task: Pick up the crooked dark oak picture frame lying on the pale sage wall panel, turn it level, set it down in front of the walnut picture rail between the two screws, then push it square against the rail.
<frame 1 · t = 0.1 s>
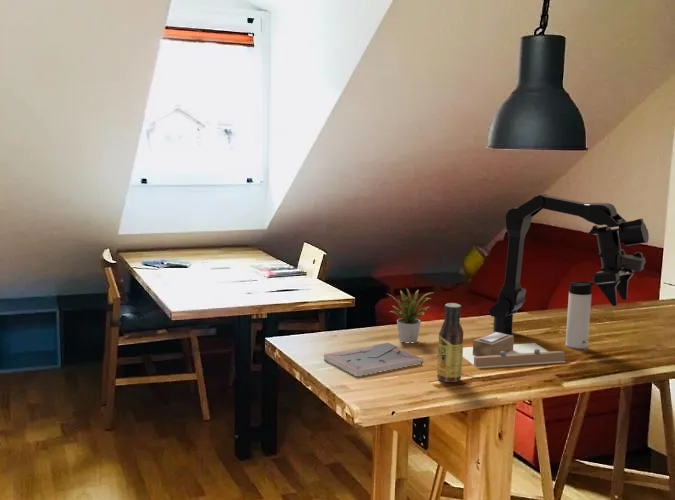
hand: (619, 302, 218), 15 cm above the table, tool pointing down, fingers open, 9 cm apart
travel mug: (576, 349, 228), on the table
house plant: (412, 342, 232), on the table
wall board: (507, 357, 218), on the table
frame: (493, 352, 220), point 1 cm above the table, touching wall board
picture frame: (373, 365, 213), on the table
sauce bottle: (449, 380, 199), on the table
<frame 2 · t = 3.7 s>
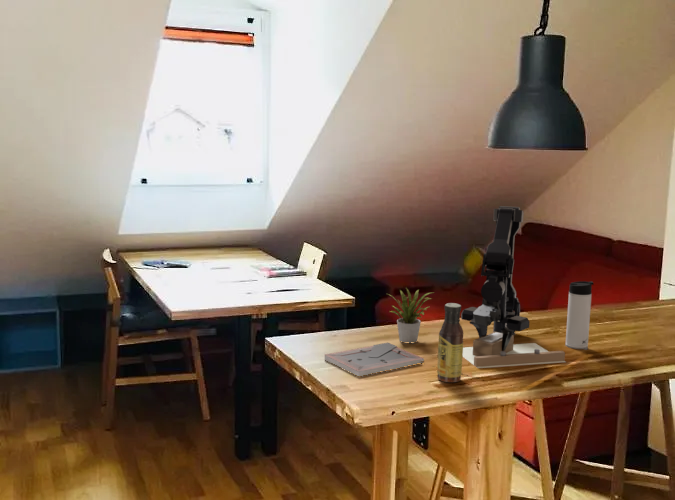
hand: (493, 348, 220), 2 cm above the table, tool pointing down, fingers closed on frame, 6 cm apart
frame: (493, 352, 220), point 1 cm above the table, touching gripper, wall board
everything else where it was.
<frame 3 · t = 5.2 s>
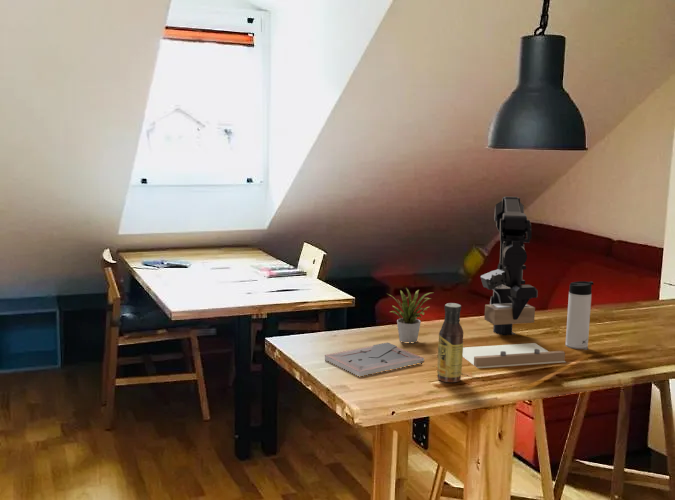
hand: (509, 316, 214), 12 cm above the table, tool pointing down, fingers closed on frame, 6 cm apart
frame: (509, 320, 215), point 11 cm above the table, touching gripper
everything else where it was.
when the fingers open (3 cm above the table, at t = 7.1 s): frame stays where it is, resting on wall board.
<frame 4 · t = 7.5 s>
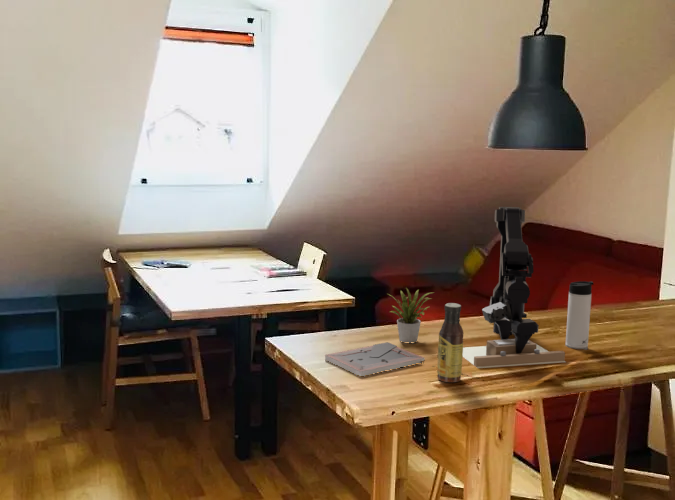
hand: (511, 349, 216), 3 cm above the table, tool pointing down, fingers open, 8 cm apart
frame: (510, 357, 216), point 1 cm above the table, touching wall board
everything else where it was.
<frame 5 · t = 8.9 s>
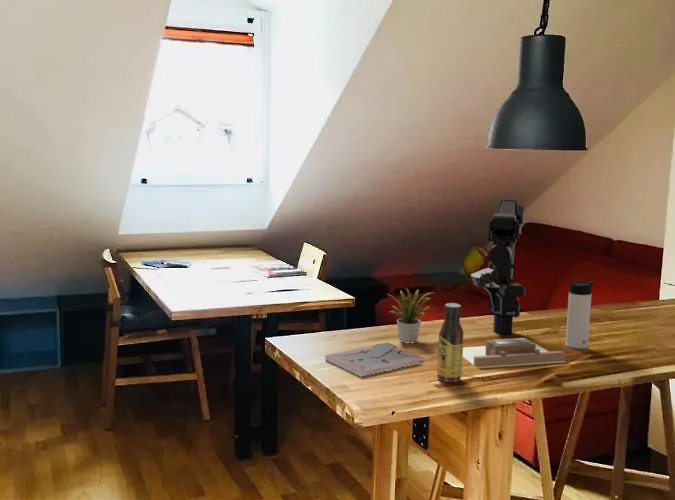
hand: (499, 313, 222), 11 cm above the table, tool pointing down, fingers open, 5 cm apart
nothing on the table moved.
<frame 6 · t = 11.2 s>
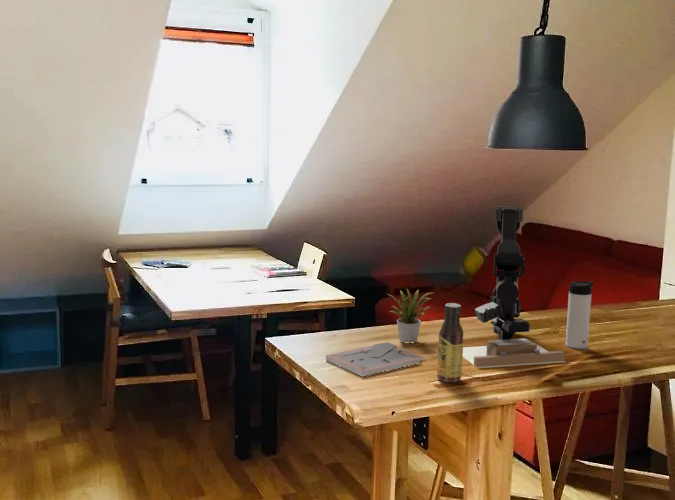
hand: (503, 348, 220), 2 cm above the table, tool pointing down, fingers closed
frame: (511, 357, 216), point 1 cm above the table, touching gripper
everything else where it was.
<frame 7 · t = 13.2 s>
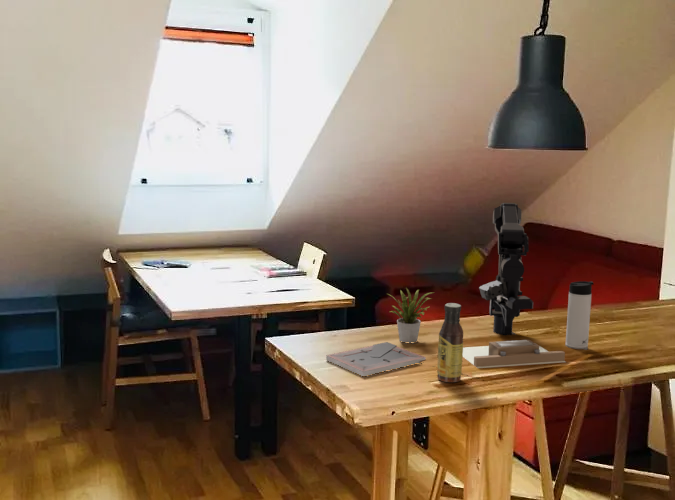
hand: (507, 326, 223), 7 cm above the table, tool pointing down, fingers closed
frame: (513, 358, 215), point 1 cm above the table, touching wall board
everything else where it was.
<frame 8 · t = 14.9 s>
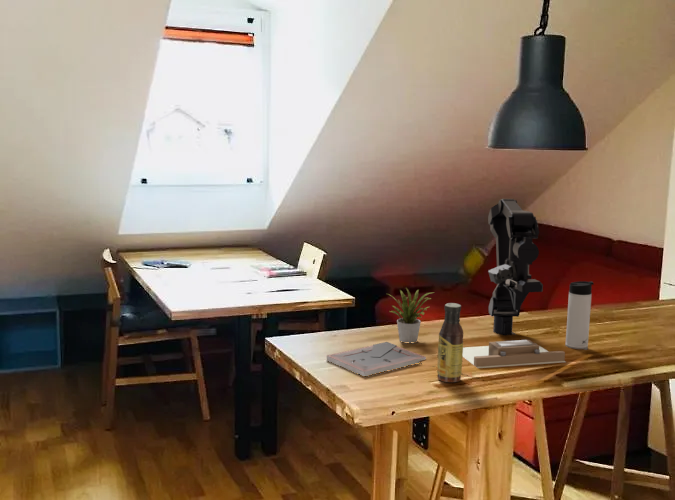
hand: (516, 309, 223), 12 cm above the table, tool pointing down, fingers closed
nothing on the table moved.
at the end: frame inside the target area on the wall board (0.4 cm from its centre), point 0.8 cm above the wall board's base; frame tilted 0° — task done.
